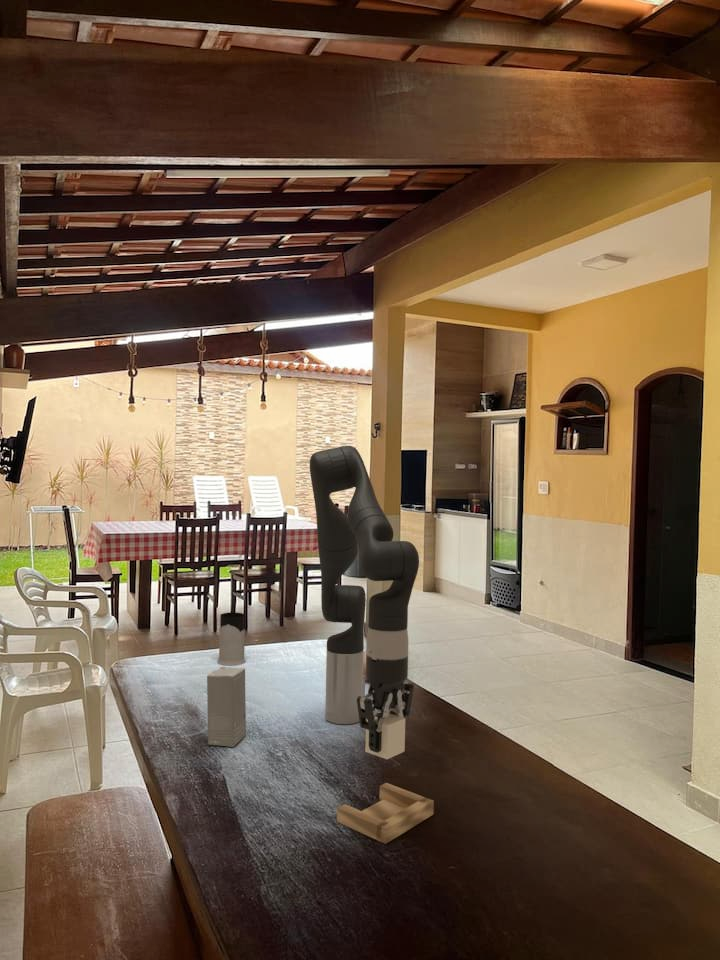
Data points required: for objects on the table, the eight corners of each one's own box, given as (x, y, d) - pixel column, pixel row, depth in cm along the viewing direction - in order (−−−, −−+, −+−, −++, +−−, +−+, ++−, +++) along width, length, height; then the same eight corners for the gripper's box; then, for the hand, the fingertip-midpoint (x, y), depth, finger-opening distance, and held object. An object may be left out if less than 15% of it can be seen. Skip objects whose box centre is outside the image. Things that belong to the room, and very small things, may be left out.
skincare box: (234, 748, 160) (235, 677, 160) (203, 745, 162) (205, 674, 162) (247, 734, 169) (248, 667, 168) (218, 731, 170) (219, 664, 170)
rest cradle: (385, 795, 139) (386, 782, 139) (433, 814, 132) (433, 800, 132) (336, 821, 128) (337, 807, 128) (385, 843, 121) (386, 829, 121)
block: (382, 743, 134) (383, 711, 134) (404, 751, 131) (405, 718, 131) (365, 751, 130) (366, 718, 130) (387, 759, 127) (388, 725, 127)
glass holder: (213, 664, 226) (214, 616, 226) (229, 653, 240) (229, 608, 240) (240, 666, 225) (241, 618, 225) (254, 655, 239) (255, 609, 239)
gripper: (395, 641, 138) (392, 730, 138) (345, 655, 127) (342, 752, 127) (427, 649, 133) (425, 741, 133) (378, 664, 122) (376, 764, 122)
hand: (385, 746), depth 130 cm, fingers closed on block, 5 cm apart
